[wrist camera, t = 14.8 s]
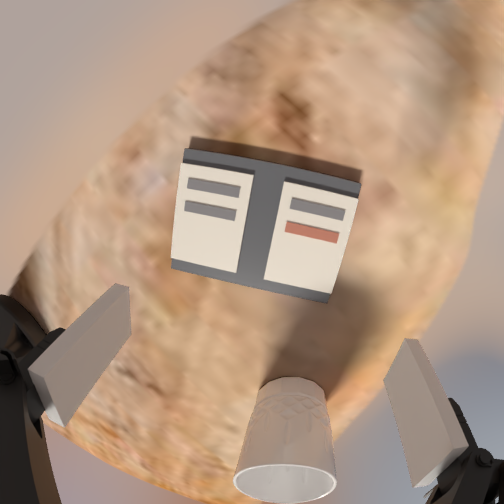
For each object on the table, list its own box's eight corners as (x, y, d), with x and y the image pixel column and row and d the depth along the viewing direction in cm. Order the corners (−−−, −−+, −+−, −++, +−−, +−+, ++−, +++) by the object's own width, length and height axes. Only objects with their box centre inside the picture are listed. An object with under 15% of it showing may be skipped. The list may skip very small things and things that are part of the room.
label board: (175, 264, 24) (169, 270, 22) (188, 148, 20) (182, 148, 19) (326, 298, 23) (327, 306, 22) (358, 182, 20) (362, 184, 18)
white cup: (274, 429, 29) (264, 507, 20) (235, 385, 27) (212, 471, 18) (343, 409, 27) (349, 492, 17) (311, 359, 25) (312, 454, 16)
